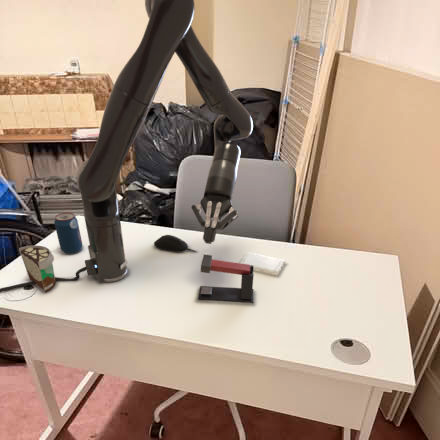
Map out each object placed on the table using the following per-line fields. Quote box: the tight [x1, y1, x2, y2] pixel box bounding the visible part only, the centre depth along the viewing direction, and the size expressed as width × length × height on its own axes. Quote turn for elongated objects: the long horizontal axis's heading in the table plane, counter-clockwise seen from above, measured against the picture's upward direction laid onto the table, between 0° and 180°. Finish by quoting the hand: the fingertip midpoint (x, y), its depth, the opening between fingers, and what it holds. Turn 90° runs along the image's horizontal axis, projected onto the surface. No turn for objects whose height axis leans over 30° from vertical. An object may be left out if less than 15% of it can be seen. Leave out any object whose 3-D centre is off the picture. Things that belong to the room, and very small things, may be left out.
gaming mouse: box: [153, 234, 196, 253], centre depth 131 cm, size 6×15×4 cm, turn 70°
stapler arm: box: [200, 253, 250, 276], centre depth 104 cm, size 13×6×2 cm, turn 86°
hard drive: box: [239, 251, 286, 276], centre depth 123 cm, size 2×8×12 cm
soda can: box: [53, 212, 84, 255], centre depth 126 cm, size 7×7×12 cm
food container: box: [18, 245, 57, 293], centre depth 111 cm, size 12×6×10 cm, turn 47°
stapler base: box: [197, 265, 254, 304], centre depth 107 cm, size 15×6×9 cm, turn 86°
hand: (207, 242), depth 103 cm, fingers closed
